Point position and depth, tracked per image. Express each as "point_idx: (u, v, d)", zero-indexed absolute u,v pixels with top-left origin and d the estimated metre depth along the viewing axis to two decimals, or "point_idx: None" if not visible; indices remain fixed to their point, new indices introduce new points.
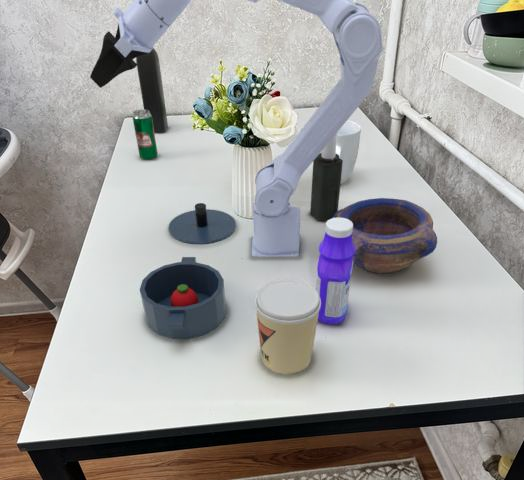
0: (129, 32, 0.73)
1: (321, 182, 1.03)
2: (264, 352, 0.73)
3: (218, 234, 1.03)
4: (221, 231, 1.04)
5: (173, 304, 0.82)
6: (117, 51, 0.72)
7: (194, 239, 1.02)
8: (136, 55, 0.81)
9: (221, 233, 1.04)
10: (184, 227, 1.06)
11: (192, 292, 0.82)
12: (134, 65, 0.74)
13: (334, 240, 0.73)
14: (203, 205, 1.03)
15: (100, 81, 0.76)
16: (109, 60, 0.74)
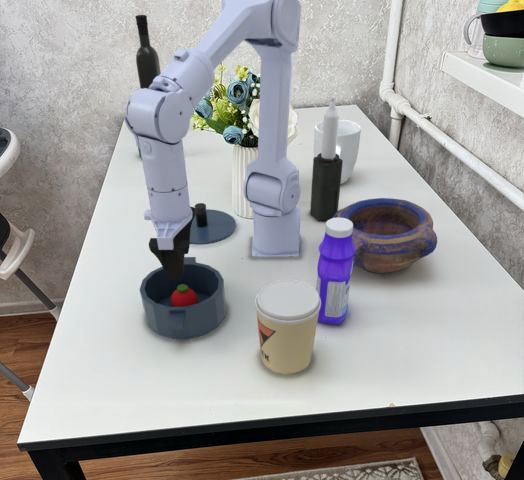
0: (163, 223, 0.70)
1: (321, 182, 1.03)
2: (264, 352, 0.73)
3: (218, 234, 1.03)
4: (221, 231, 1.04)
5: (173, 304, 0.82)
6: None
7: (194, 239, 1.02)
8: (190, 223, 0.77)
9: (221, 233, 1.04)
10: None
11: (192, 292, 0.82)
12: (186, 244, 0.70)
13: (334, 240, 0.73)
14: (203, 205, 1.03)
15: (177, 276, 0.75)
16: (169, 257, 0.72)
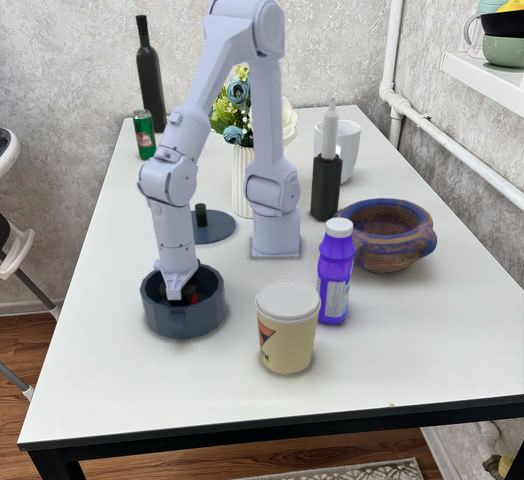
0: (172, 274, 0.76)
1: (321, 182, 1.03)
2: (264, 352, 0.73)
3: (218, 234, 1.03)
4: (221, 231, 1.04)
5: None
6: None
7: (194, 239, 1.02)
8: (195, 274, 0.82)
9: (221, 233, 1.04)
10: None
11: None
12: (193, 289, 0.77)
13: (334, 240, 0.73)
14: (203, 205, 1.03)
15: None
16: (177, 299, 0.79)
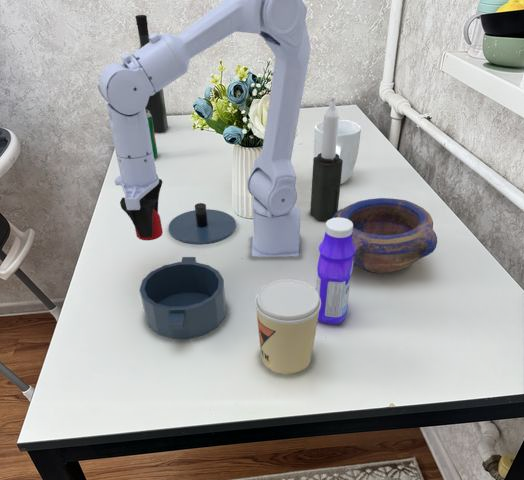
0: (132, 187, 0.78)
1: (321, 182, 1.03)
2: (264, 352, 0.73)
3: (218, 234, 1.03)
4: (221, 231, 1.04)
5: None
6: None
7: (194, 239, 1.02)
8: (157, 194, 0.85)
9: (221, 233, 1.04)
10: (184, 227, 1.06)
11: (154, 211, 0.84)
12: (153, 203, 0.79)
13: (334, 240, 0.73)
14: (203, 205, 1.03)
15: (147, 233, 0.84)
16: (139, 215, 0.81)
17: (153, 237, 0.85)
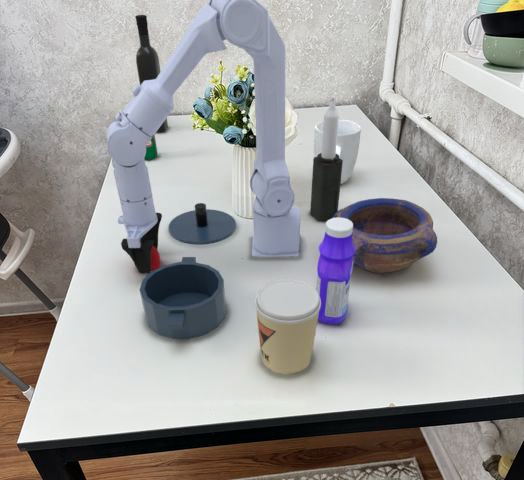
0: (133, 226, 0.87)
1: (321, 182, 1.03)
2: (264, 352, 0.73)
3: (218, 234, 1.03)
4: (221, 231, 1.04)
5: None
6: (134, 247, 0.86)
7: (194, 239, 1.02)
8: (157, 226, 0.94)
9: (221, 233, 1.04)
10: (184, 227, 1.06)
11: (153, 248, 0.93)
12: (151, 244, 0.87)
13: (334, 240, 0.73)
14: (203, 205, 1.03)
15: (146, 269, 0.92)
16: (138, 254, 0.89)
17: None
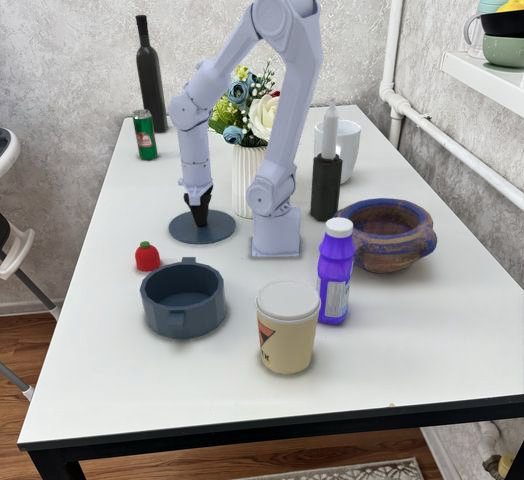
0: (192, 187, 0.98)
1: (321, 182, 1.03)
2: (264, 352, 0.73)
3: (218, 234, 1.03)
4: (221, 231, 1.04)
5: (137, 258, 0.93)
6: None
7: (194, 239, 1.02)
8: (209, 195, 1.03)
9: (221, 233, 1.04)
10: (184, 227, 1.06)
11: (153, 248, 0.93)
12: (209, 197, 0.99)
13: (334, 240, 0.73)
14: None
15: (202, 222, 1.04)
16: (197, 207, 1.02)
17: None
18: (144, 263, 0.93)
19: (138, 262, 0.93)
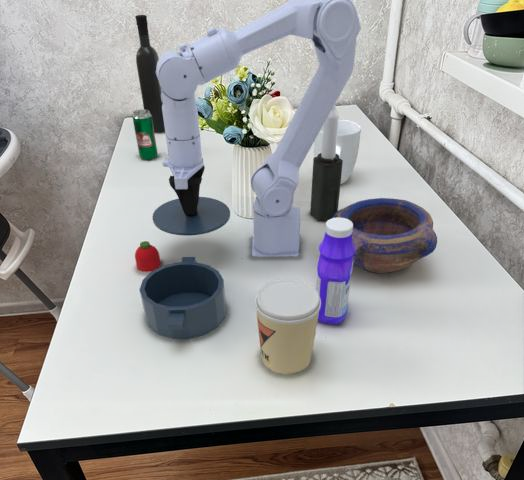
0: (179, 168, 0.83)
1: (321, 182, 1.03)
2: (264, 352, 0.73)
3: (209, 224, 0.89)
4: (213, 221, 0.90)
5: (137, 258, 0.93)
6: None
7: (181, 229, 0.88)
8: None
9: (213, 223, 0.89)
10: (170, 216, 0.92)
11: (153, 248, 0.93)
12: (199, 180, 0.85)
13: (334, 240, 0.73)
14: None
15: (192, 210, 0.90)
16: (185, 192, 0.87)
17: None
18: (144, 263, 0.93)
19: (138, 262, 0.93)
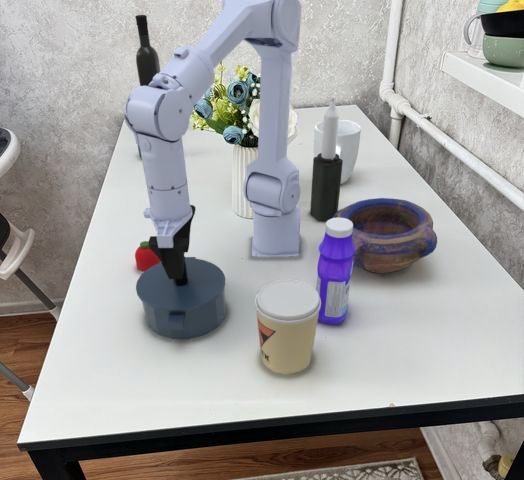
0: (163, 221, 0.70)
1: (321, 182, 1.03)
2: (264, 352, 0.73)
3: (201, 297, 0.77)
4: (205, 292, 0.78)
5: (137, 258, 0.93)
6: None
7: (168, 304, 0.76)
8: (190, 222, 0.77)
9: (205, 295, 0.78)
10: (157, 286, 0.80)
11: None
12: (186, 243, 0.70)
13: (334, 240, 0.73)
14: None
15: (177, 274, 0.74)
16: (169, 255, 0.72)
17: None
18: (144, 263, 0.93)
19: (138, 262, 0.93)
